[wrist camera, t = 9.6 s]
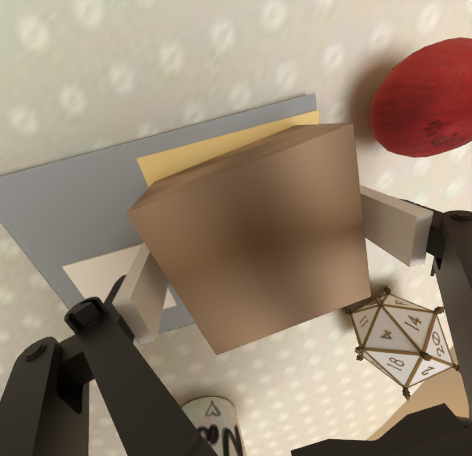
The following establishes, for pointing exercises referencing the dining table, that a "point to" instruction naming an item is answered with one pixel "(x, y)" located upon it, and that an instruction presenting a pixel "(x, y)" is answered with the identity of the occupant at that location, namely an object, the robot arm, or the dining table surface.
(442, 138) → the red oval piece
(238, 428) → the mug
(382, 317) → the game die
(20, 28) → the dining table surface
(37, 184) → the board
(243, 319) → the walnut slab
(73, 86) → the dining table surface
